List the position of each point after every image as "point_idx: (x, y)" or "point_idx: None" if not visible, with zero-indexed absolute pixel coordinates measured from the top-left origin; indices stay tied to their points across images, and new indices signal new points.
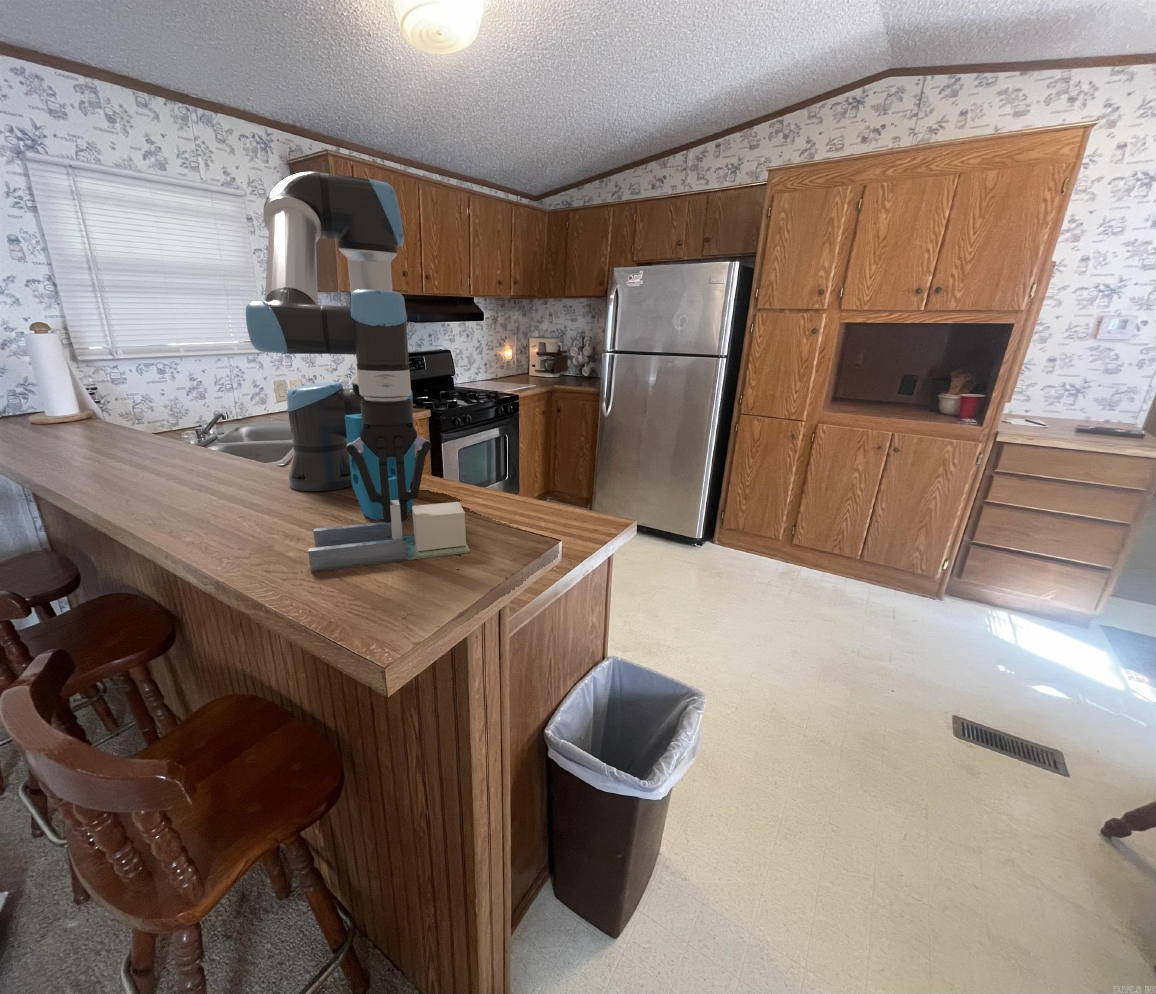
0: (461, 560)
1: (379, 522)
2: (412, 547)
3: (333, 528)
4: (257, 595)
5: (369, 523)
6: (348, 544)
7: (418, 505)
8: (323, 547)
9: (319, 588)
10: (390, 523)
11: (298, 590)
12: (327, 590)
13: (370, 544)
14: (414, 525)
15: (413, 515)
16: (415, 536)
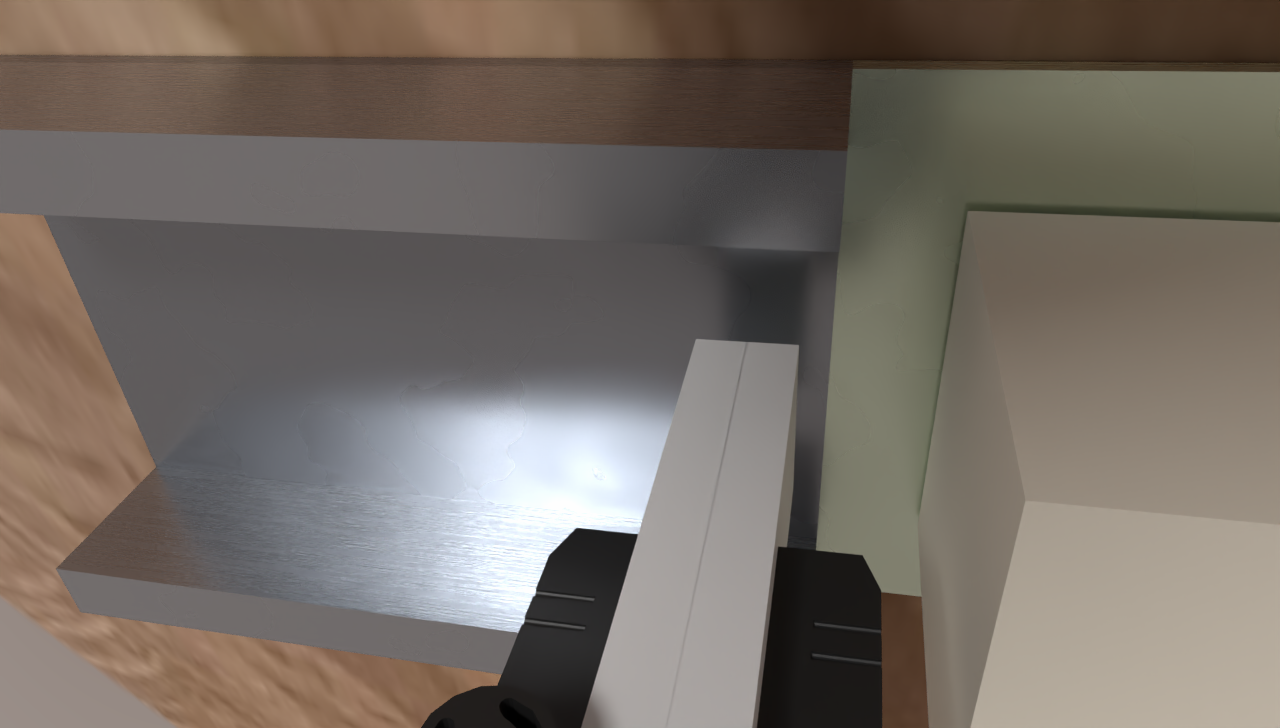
0: None
1: (511, 149)
2: (892, 419)
3: (11, 189)
4: (56, 625)
5: (382, 146)
6: (322, 612)
7: (1154, 526)
8: (154, 594)
9: (315, 674)
10: (665, 231)
11: (220, 653)
12: (361, 704)
13: (498, 672)
14: (956, 532)
15: (978, 572)
16: (941, 477)
